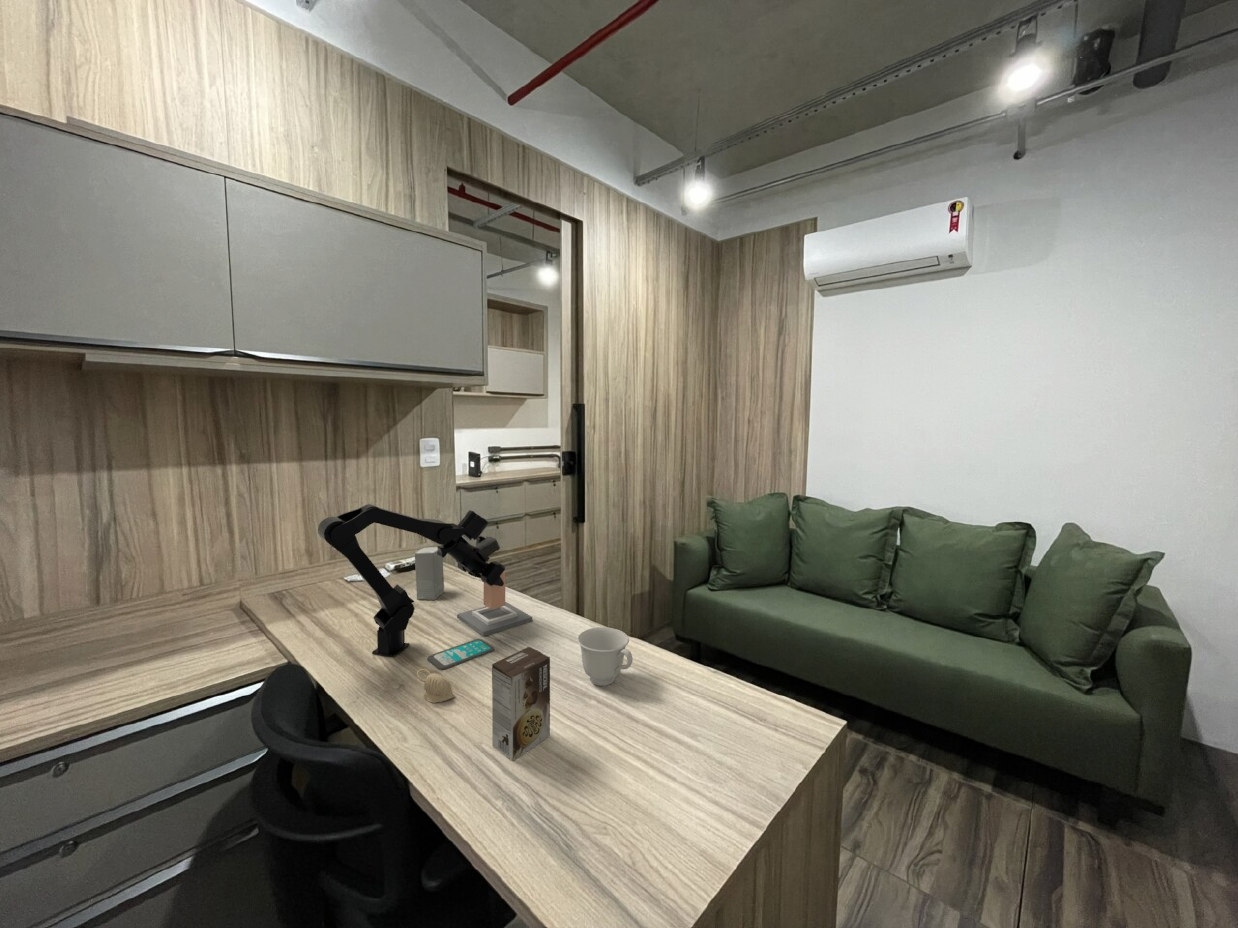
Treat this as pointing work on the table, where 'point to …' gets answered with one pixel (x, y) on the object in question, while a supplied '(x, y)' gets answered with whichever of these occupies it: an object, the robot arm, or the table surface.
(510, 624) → the dock board
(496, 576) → the robot arm
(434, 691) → the beige creamer pitcher
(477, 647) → the smartphone
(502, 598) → the terracotta block
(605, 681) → the teacup
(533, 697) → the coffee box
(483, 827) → the table surface
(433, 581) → the skincare box
